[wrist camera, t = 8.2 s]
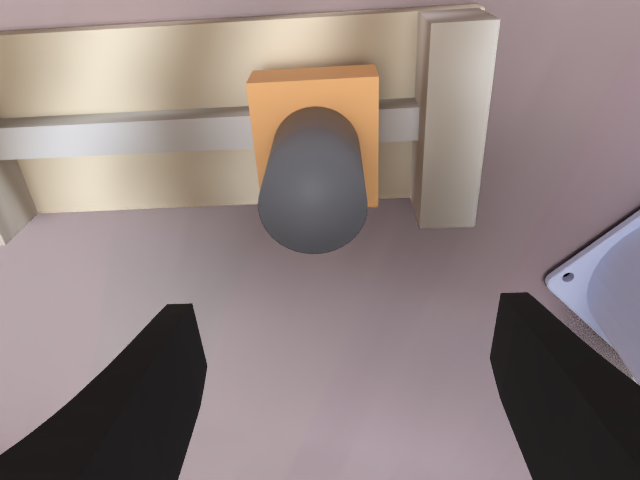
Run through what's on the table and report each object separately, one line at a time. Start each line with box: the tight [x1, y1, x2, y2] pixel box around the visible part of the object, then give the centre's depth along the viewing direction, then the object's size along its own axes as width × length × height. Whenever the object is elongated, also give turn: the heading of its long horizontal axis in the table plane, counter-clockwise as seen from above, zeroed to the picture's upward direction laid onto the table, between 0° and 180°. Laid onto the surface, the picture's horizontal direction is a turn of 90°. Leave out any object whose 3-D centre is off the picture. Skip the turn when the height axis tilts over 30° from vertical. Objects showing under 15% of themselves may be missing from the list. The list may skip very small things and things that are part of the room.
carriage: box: [246, 64, 379, 254], centre depth 16 cm, size 4×4×7 cm
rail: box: [0, 4, 500, 245], centre depth 18 cm, size 20×7×4 cm, turn 93°
